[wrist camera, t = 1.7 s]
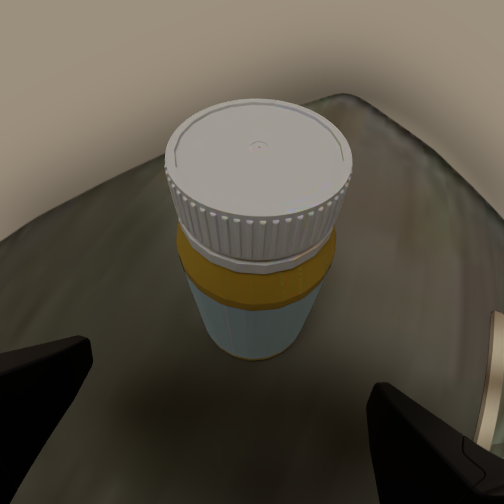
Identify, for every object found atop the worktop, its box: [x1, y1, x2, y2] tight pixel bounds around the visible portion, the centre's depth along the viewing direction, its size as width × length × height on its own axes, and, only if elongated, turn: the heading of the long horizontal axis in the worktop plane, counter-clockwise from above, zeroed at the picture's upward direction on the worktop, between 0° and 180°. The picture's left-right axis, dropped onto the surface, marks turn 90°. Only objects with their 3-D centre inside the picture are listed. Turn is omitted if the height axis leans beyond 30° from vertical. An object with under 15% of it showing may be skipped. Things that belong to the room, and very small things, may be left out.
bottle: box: [165, 99, 353, 361], centre depth 16 cm, size 7×7×15 cm
